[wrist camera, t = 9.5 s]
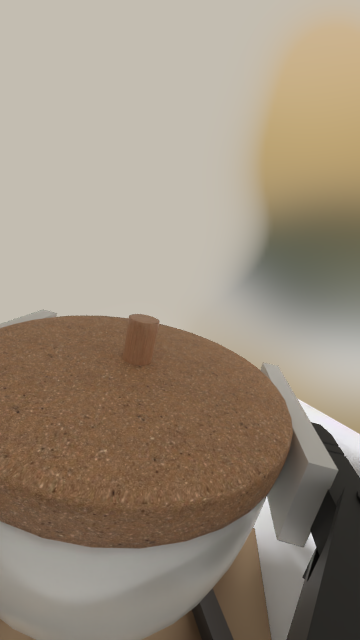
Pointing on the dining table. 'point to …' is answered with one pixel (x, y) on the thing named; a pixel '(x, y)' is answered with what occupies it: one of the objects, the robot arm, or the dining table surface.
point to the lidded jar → (126, 472)
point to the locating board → (229, 598)
